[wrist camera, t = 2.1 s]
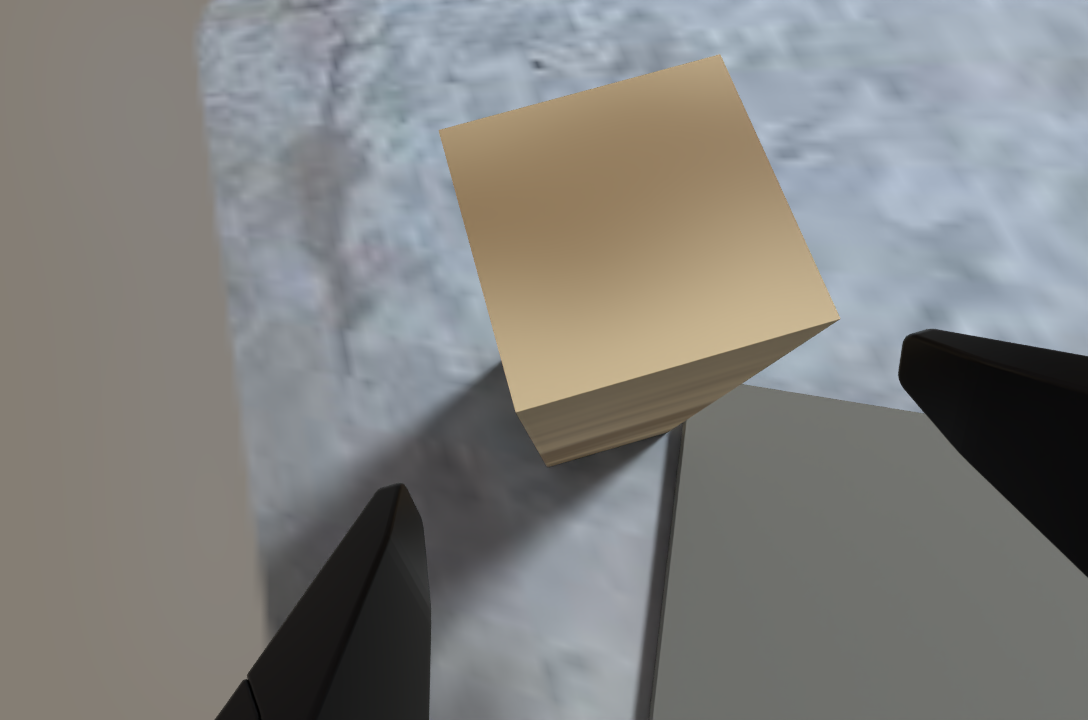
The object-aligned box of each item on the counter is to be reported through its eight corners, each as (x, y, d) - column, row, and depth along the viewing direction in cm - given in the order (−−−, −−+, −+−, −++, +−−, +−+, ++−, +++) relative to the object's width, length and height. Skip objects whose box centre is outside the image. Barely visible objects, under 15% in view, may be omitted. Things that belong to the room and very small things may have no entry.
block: (667, 432, 19) (839, 319, 7) (547, 467, 19) (515, 412, 7) (628, 318, 20) (720, 53, 8) (514, 350, 20) (438, 130, 8)
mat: (1184, 1131, 14) (1211, 1158, 14) (618, 985, 15) (620, 1005, 15) (1126, 450, 18) (1144, 449, 18) (688, 379, 20) (691, 376, 19)
